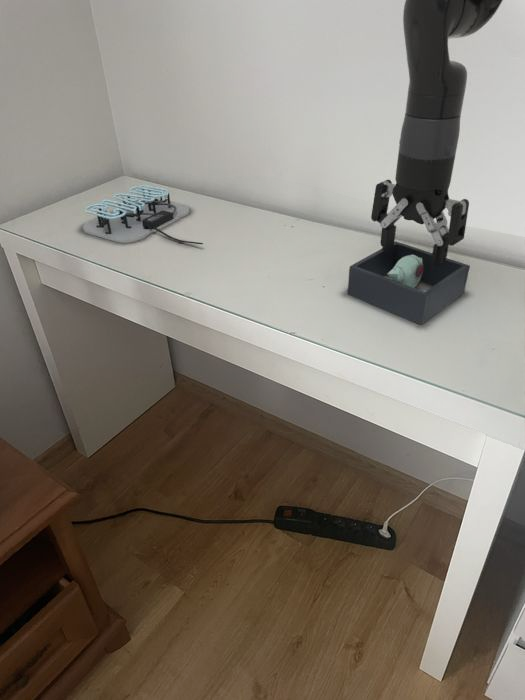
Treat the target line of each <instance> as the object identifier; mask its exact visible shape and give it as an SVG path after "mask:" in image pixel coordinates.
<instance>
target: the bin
mask: <svg viewBox="0 0 525 700" xmlns="http://www.w3.org/2000/svg"><path fill="white" fill-rule="evenodd" d="M432 253H433V252H430V251H427V250H424V249H421V248H417V247H415V246H411V245H409V244H405V243H402V242H400V241H396V240H394V246H393V248H392V249H391V250H389V251H387V252H386V251H384V250H382V248H380V249H379V250H377V251H374V252H373V253H371V254H369V255H368V256H366V257H364V258H362V259H360V260H358V261H357V262H355V263H353V264H351V265H350V266H349V269H348V282H347V283H348V284H347V295H348V296H351V297H354V298H355V299H358V300H360V301H363V302H366V303H368V304H370V305H373V306H374V307H377V308H379V309H382V310H384V311H386V312H389V313H392V314H394V315H396V316H399V317H401V318H403V319H406V320H408V321H410V322H412V323H415V324H418V325H419V326H422V325H424V324H425V323H427V321H429V320H431V319H432V318H434V317H435V316H436V315H438V314H439V313H441V311H442V310H444V309H446V308H447V307H448V306H449V305H451V304H452V303H453V302H455V301H457V300H458V299H459V298H460V297H462V296H463V295H464V294H465V290H466V285H467V282H468V277H469V272H470V268H471V265H470V264H468V263H467V264H466V263H463V262H461V261H457V260H454V259H452V258H448V257H446V260H445V262H444V263H443V264H441V265H440V266H438V267H437V268H433V267H430V264H431V259H432ZM408 255H415V256H417V257H420V258H422V263H423V273H422V276H421V278H420V280H419V281H420V282H424V283H426V284H429V285H431V287H430V288H428V289H427V290H425V291H424V290H420V289H417V288H415V287H414V288H412V287H410V286H407V285H405V284H402V283H399V282H397V281H394V280H392V279H391V278H390V277H386V275H388V273H389V272H390V271H391V270H392V269H393V268H394V267H395V265H396V264H397V262H398V261H399V260H400V259H401V258H403V257H405V256H408Z"/></svg>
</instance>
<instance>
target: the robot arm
mask: <svg viewBox="0 0 525 700" xmlns="http://www.w3.org/2000/svg"><path fill="white" fill-rule="evenodd" d="M503 1H504V0H405V1H404V5H403V6H404V7H403V13H402V26H403V28H402V29H403V36H404V44H405V45H404V46H405V52H406V53H405V54H406V62H407V69H408V79H409V80H408V82H409V83H408V89H407V95H406V96H407V97H406V104H405V113H404V118H403V122H402V125H401V129H400V137H399V145H398V154H397V163H396V169H395V177H394V178H395V182H396V183H395V184H394V183H393V182H392V180H391V179H385V180H383V181H381V182H379V183H376V184H375V190H374V195H373V196H374V197H373V203H372V209H371V215H370V219H371V220H372V221H373V222H377V223H379V224H380V225H379V226H380V227H381V232H380V233H381V234H380V242H379V243H380V246H381V249H382V250H384V251H386V252H387V251H389V250H391V249H392V248H393V246H394V242H395V241H396V231H397V225H395V223H397V222H398V221H399V220H400V219H401V218H402V217H403V220H405V221H413V222H414V223H417V224H419V225H424V226H425V229H426V230H427V232H428V233H430V234H431V236H432V238H433V241H434V244H433V248H432V252H431V253H432V259H431V264H430V267H433V268H437V267H438V266H440V265H441V264H443V263H444V262H445V260H446V258H447V256H448V251H449V246H454V245H456V244H458V243H460V242H461V241H463V240H464V239H465V234H466V227H467V220H468V213H469V207H470V201H469V200H468V199H467V198H463V199H461V200H457V199H451V198H450V196H449V188H450V186H451V181H452V176H453V171H454V165H455V160H456V154H457V148H458V142H459V139H460V137H459V136H460V131H461V116H462V110H463V104H464V100H465V99H464V98H465V93H466V88H467V81H468V70H467V68H466V66H465V65H464V64H463V63H460V62H459V61H456V60H451V59H450V51H449V40H451V39H459V38H465V37H469V36H471V35H473V34H476V32H478V31H480V30H481V29H482V28H483V27H485V25H486V24H487V23H489V21H491V20H492V18H493V17H494V15H495V14H496V13H497V11H498V9H499V8H500V6H501V4H502V2H503ZM391 197H393V199H394V201H395V204H396V205H394V207H393V208H392V209H391V210H390V211H389V212H388V209H389V204H390V198H391ZM446 209H447V211H448V213H447V215H448V216H449V217H450V220H449V226H448V219H447V216H446V215H445V212H444V210H446ZM434 219H435V220H434ZM435 221H436V222H435Z"/></svg>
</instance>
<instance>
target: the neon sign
mask: <svg viewBox="0 0 525 700" xmlns="http://www.w3.org/2000/svg"><path fill="white" fill-rule="evenodd" d="M134 190H135V191H134ZM128 191H129V193H131V194H129V193H121V192H120V193H115V194H114V195H113V197H112V198H114V199H116V200H119V201H121V202H119V201H115V200H110V199H103V200H101V203H93V204H91V205H88V206H87V207H85V208H84V211H85V213H87V214H90V215H93V216H97V217H96V218H94V219H91V220H88V221H87V222H84V224H83V225H82V230H83V232H84V233H86V234H88V235H92V236H95V237H98V238H102V239H105V240H109V241H112V242H116V243H120V244H121V243H122V244H126V243H128V244H129V243H133V242H138V241H141V240H143V239H145V238H146V237H148V236H149V235H150V234H153V233H156V232H159V233H160V234H162V235H163V236H165V237H166V238H169V239H171V240H173V241H176V242H180V243H185V244H194V245H204V243H203V242H199V241H198V242H197V241H188V240H182V239H179V238H176V237H173V236H171V235H169V234H167V233H166V232H164V231H162V229H163V228H165V227H167V226H169V225H171V224H173V223H174V222H177V221H178V220H180V219H181V218H184V217H186V216H188V215H189V214H190V208H189V207H188V206H187V205H185V204H181V203H177V202H173V201H171V198H170V195H171V194H170V191H169V190H168V189H166V188H162V187H156V186H152V185H145V184H143V185H141V184H139V185H136V186H133V187H131V188H129V189H128ZM119 196H121V197H119ZM158 198H159V199H158ZM163 198H164V199H163ZM109 207H114V209H113V210H112V212H108V211H107V209H109ZM89 209H91V210H89Z"/></svg>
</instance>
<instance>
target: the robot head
mask: <svg viewBox="0 0 525 700" xmlns="http://www.w3.org/2000/svg"><path fill="white" fill-rule="evenodd" d="M422 273H423V263H422V258H420V257H417V256H415V255H408V256H405V257H403V258H401V259H400V260H399V261H398V262H397V264H396V265H395V267H394V268H393V269H392V270H391V271H390V272H389V273H388V274H387V276H388V277H389V279H391V280H394V281H397V282H399V283H402V284H405V285H407V286H410V287H412V288H415V287H417V285H418V283H419V282H420V281H421V280H420V278H421V276H422Z"/></svg>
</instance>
